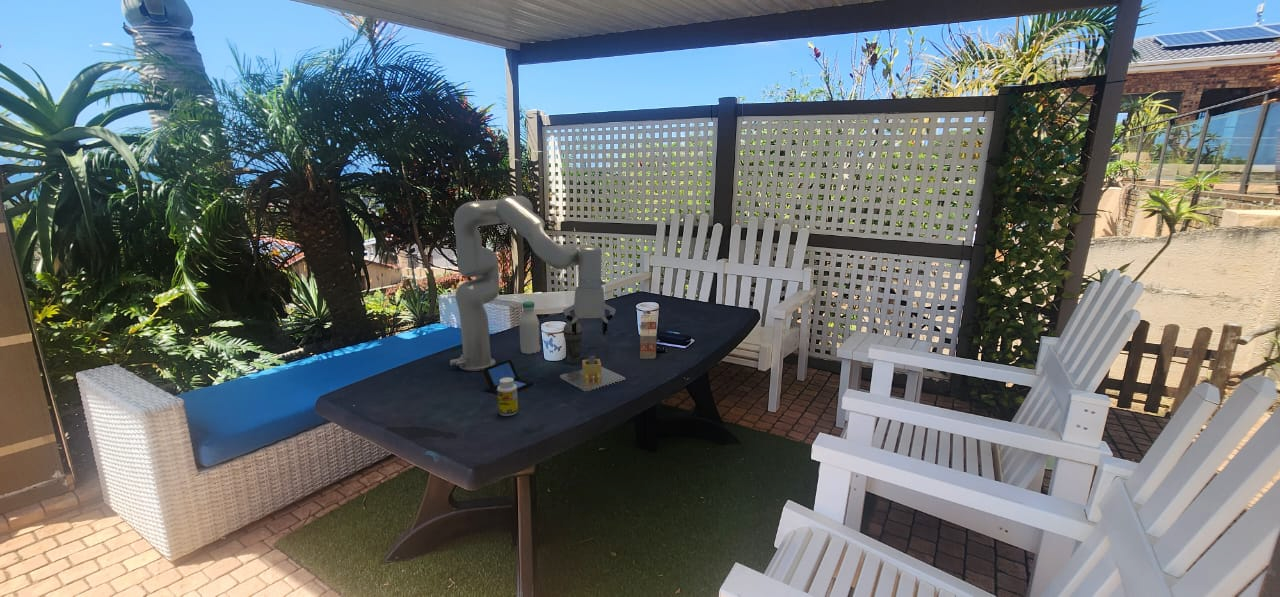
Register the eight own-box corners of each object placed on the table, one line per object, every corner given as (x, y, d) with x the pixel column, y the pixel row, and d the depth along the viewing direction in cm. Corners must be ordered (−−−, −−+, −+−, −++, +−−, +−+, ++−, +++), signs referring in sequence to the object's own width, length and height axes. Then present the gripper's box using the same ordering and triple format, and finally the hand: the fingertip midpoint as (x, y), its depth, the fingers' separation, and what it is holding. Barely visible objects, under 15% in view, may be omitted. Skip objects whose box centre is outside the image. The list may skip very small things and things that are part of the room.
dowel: (592, 382, 175) (592, 376, 175) (590, 381, 176) (590, 375, 176) (596, 381, 176) (596, 375, 176) (593, 380, 177) (593, 374, 177)
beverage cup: (582, 364, 196) (580, 311, 191) (562, 364, 196) (560, 311, 192) (584, 358, 203) (583, 307, 199) (565, 357, 203) (563, 307, 199)
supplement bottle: (494, 415, 153) (492, 381, 151) (506, 407, 158) (504, 375, 156) (511, 418, 151) (508, 384, 149) (522, 410, 156) (520, 377, 154)
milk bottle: (538, 354, 207) (536, 304, 203) (518, 354, 207) (515, 304, 203) (542, 348, 215) (540, 300, 211) (523, 348, 215) (520, 300, 211)
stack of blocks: (656, 359, 202) (656, 327, 199) (639, 359, 202) (639, 327, 199) (656, 342, 222) (656, 314, 220) (641, 342, 223) (641, 314, 220)
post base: (585, 391, 170) (584, 368, 168) (559, 377, 182) (559, 355, 181) (625, 380, 180) (625, 357, 178) (598, 367, 192) (598, 346, 190)
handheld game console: (506, 398, 166) (505, 375, 165) (483, 391, 172) (481, 369, 170) (534, 385, 177) (533, 364, 175) (511, 379, 182) (510, 358, 181)
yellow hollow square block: (582, 373, 183) (582, 359, 182) (600, 372, 184) (599, 358, 183) (584, 383, 174) (583, 369, 173) (602, 382, 175) (602, 368, 174)
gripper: (614, 281, 179) (614, 330, 183) (562, 281, 176) (563, 331, 180) (617, 285, 172) (616, 336, 176) (563, 286, 169) (563, 337, 173)
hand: (589, 333), depth 178 cm, fingers open, 9 cm apart
